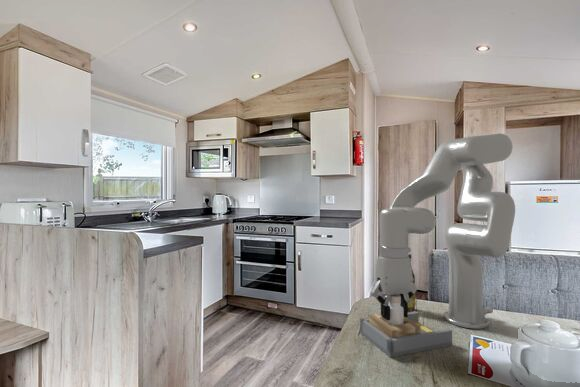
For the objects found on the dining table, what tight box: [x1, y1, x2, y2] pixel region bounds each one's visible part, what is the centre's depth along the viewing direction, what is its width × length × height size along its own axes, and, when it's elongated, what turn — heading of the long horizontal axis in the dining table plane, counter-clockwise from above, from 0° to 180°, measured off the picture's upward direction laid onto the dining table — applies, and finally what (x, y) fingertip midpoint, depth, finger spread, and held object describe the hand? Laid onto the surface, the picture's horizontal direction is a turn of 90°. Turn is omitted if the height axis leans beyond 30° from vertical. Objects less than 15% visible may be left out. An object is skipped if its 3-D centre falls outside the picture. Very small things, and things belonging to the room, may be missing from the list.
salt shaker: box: [386, 294, 404, 326], centre depth 85 cm, size 4×4×10 cm
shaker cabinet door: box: [368, 312, 421, 339], centre depth 85 cm, size 9×11×4 cm
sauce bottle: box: [408, 252, 416, 313], centre depth 108 cm, size 6×6×20 cm
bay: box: [359, 310, 453, 358], centre depth 86 cm, size 20×14×4 cm
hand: (394, 316), depth 85 cm, fingers closed on salt shaker, 5 cm apart
